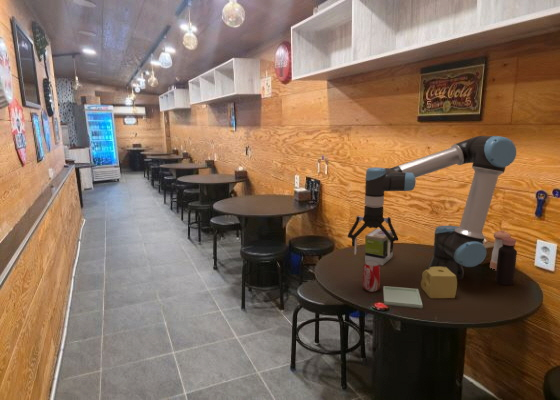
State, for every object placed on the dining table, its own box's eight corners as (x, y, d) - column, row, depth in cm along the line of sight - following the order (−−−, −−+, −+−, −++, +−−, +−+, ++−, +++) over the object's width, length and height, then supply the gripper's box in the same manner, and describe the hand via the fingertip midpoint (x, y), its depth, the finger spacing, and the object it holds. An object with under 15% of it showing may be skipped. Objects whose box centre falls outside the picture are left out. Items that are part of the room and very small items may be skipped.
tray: (417, 292, 148) (417, 289, 148) (422, 308, 135) (422, 304, 135) (383, 289, 152) (383, 285, 152) (384, 304, 139) (384, 301, 138)
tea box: (375, 253, 195) (375, 227, 192) (393, 257, 189) (394, 230, 186) (364, 261, 183) (365, 234, 180) (383, 266, 177) (384, 237, 175)
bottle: (494, 278, 161) (499, 236, 157) (512, 280, 158) (517, 237, 154) (495, 284, 155) (500, 240, 151) (514, 286, 152) (519, 242, 148)
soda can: (380, 293, 148) (381, 266, 146) (362, 292, 149) (363, 265, 147) (379, 286, 155) (380, 260, 152) (362, 285, 156) (363, 259, 154)
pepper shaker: (497, 264, 176) (501, 227, 172) (511, 270, 169) (515, 231, 166) (486, 266, 174) (490, 229, 170) (499, 272, 167) (503, 233, 163)
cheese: (420, 287, 153) (421, 266, 151) (445, 287, 152) (447, 265, 150) (429, 299, 143) (431, 275, 141) (456, 299, 142) (458, 275, 140)
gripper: (405, 205, 145) (402, 254, 150) (343, 202, 151) (342, 249, 156) (407, 208, 138) (403, 260, 142) (342, 206, 144) (341, 255, 148)
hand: (371, 254), depth 149 cm, fingers open, 13 cm apart
